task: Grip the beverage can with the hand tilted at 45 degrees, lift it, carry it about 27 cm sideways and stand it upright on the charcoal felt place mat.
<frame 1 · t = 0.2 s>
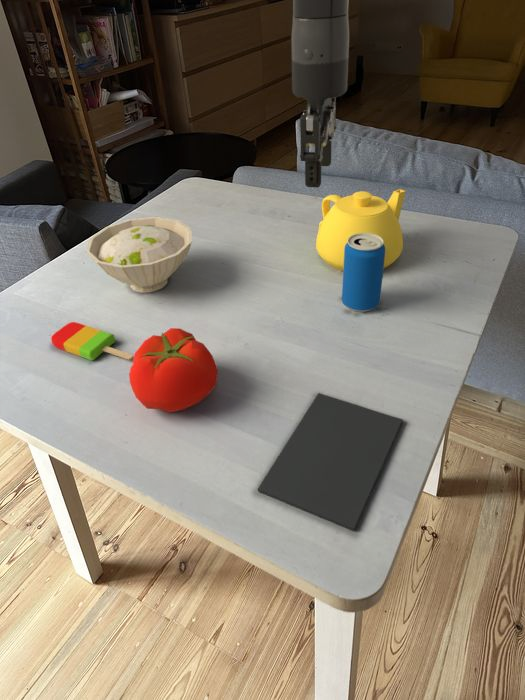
hand: (318, 175, 81), 22 cm above the table, tool pointing down, fingers open, 8 cm apart
popsicle: (96, 350, 86), on the table
beverage can: (360, 304, 93), on the table
bowl: (149, 283, 102), on the table
teapot: (359, 251, 107), on the table
place mat: (334, 455, 67), on the table
tomato: (179, 393, 77), on the table
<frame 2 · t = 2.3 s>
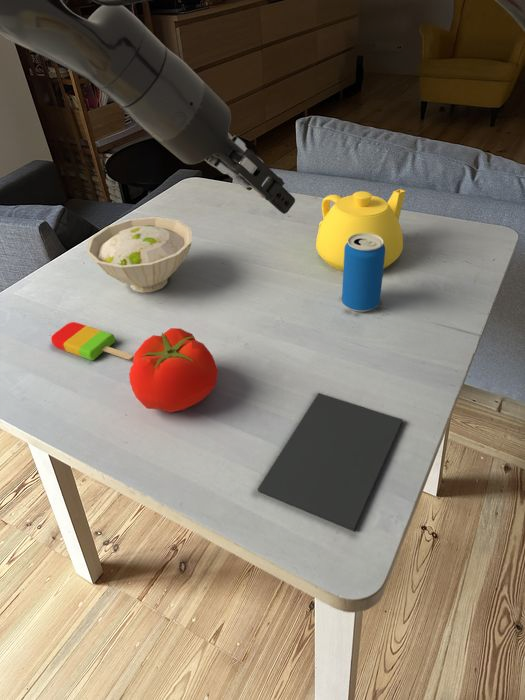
hand: (270, 194, 66), 26 cm above the table, tool tilted 40°, fingers open, 8 cm apart
nothing on the table moved.
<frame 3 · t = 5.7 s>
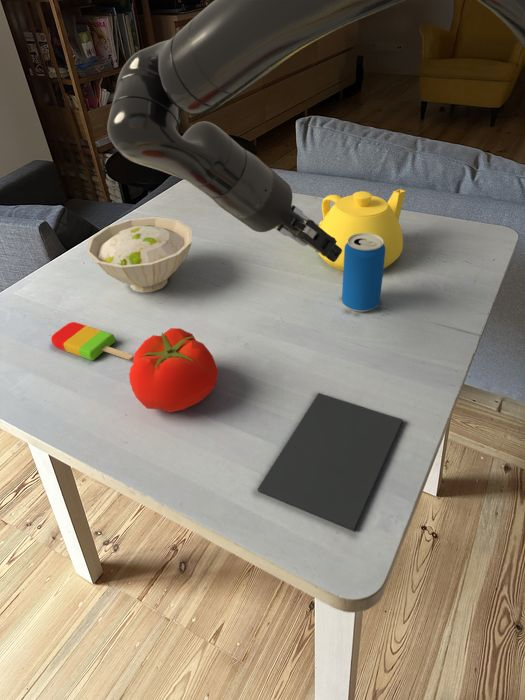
hand: (318, 244, 80), 15 cm above the table, tool tilted 45°, fingers open, 8 cm apart
nothing on the table moved.
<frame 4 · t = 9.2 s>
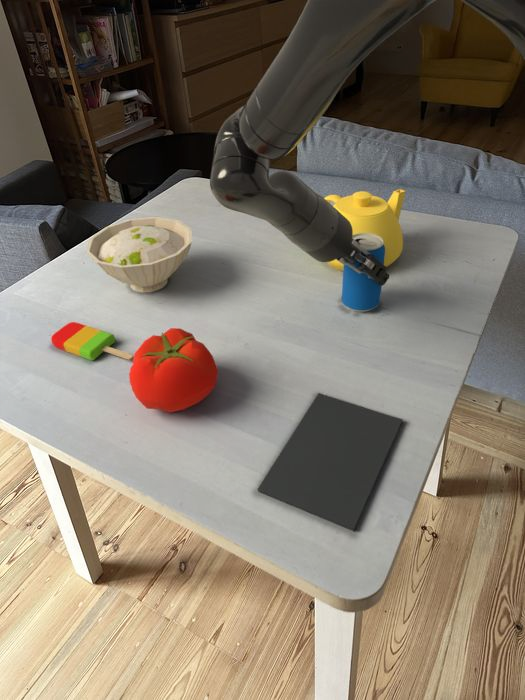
hand: (369, 271, 90), 6 cm above the table, tool tilted 45°, fingers closed on beverage can, 6 cm apart
beverage can: (360, 304, 93), on the table, touching gripper
everything else where it was.
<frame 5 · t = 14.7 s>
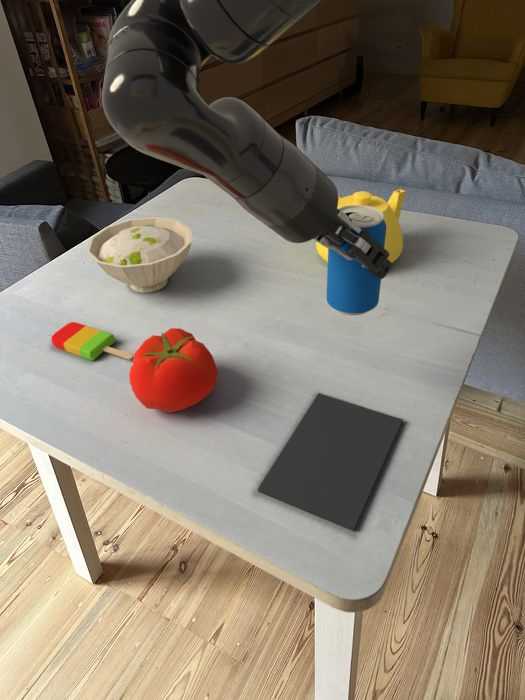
hand: (365, 259, 65), 20 cm above the table, tool tilted 45°, fingers closed on beverage can, 6 cm apart
beverage can: (351, 305, 68), point 14 cm above the table, touching gripper
everything else where it was.
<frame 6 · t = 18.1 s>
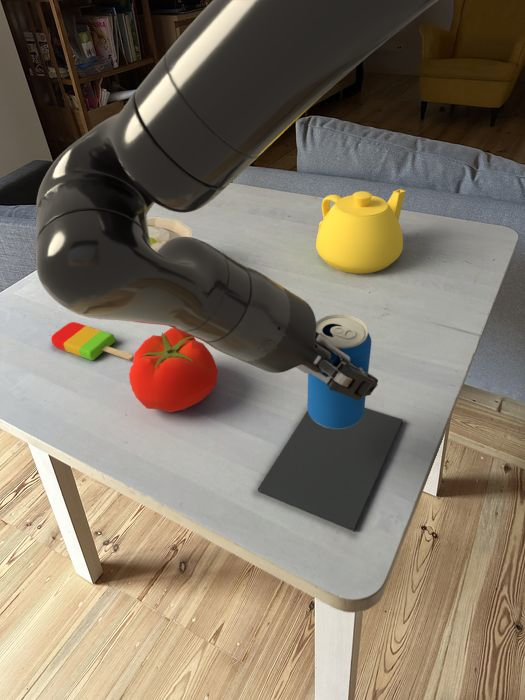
hand: (348, 369, 59), 14 cm above the table, tool tilted 45°, fingers closed on beverage can, 6 cm apart
beverage can: (335, 414, 62), point 7 cm above the table, touching gripper
everything else where it was.
when the fingers open (6 cm above the table, at t = 20.6 s): beverage can stays where it is, resting on place mat.
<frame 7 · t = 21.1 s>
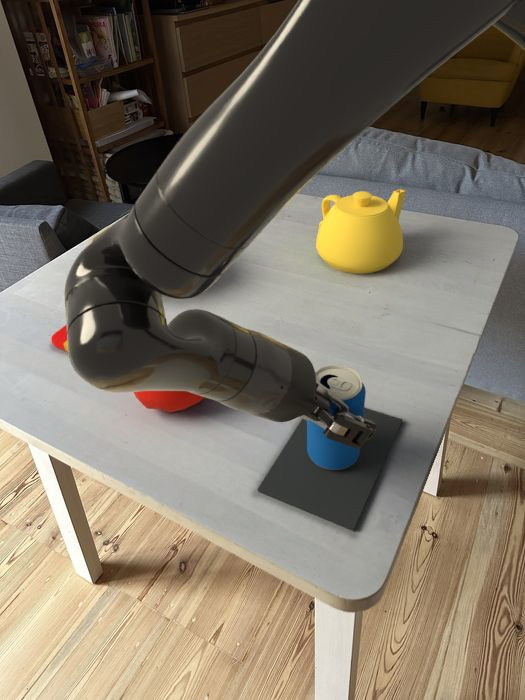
hand: (345, 409, 63), 7 cm above the table, tool tilted 45°, fingers open, 8 cm apart
beverage can: (333, 453, 67), resting on place mat
everything else where it was.
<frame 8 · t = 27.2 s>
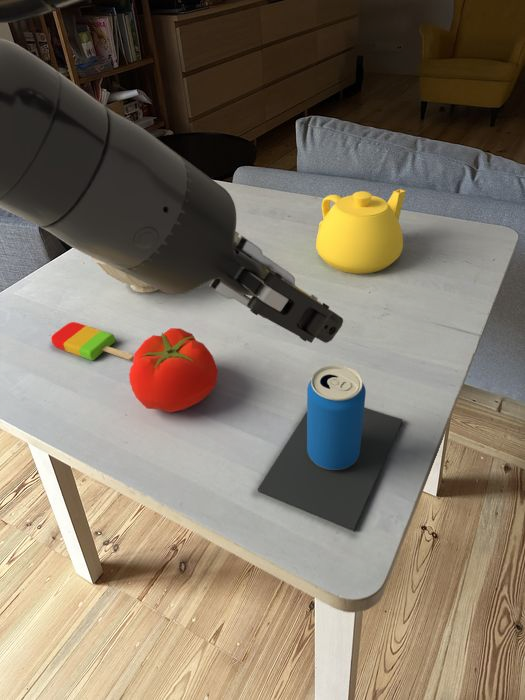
hand: (299, 304, 43), 29 cm above the table, tool tilted 45°, fingers open, 8 cm apart
nothing on the table moved.
at the end: beverage can inside the target area on the place mat (0.2 cm from its centre), point 0.4 cm above the place mat's base; beverage can tilted 0°; the gripper is holding nothing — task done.
